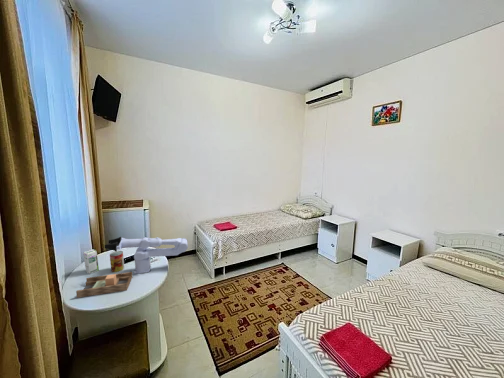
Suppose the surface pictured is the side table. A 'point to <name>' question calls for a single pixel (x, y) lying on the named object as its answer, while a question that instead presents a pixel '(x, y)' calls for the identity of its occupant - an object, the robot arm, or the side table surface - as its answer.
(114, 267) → the canned food
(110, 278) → the terracotta block
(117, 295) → the side table surface
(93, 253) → the syrup box
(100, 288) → the trap lane
